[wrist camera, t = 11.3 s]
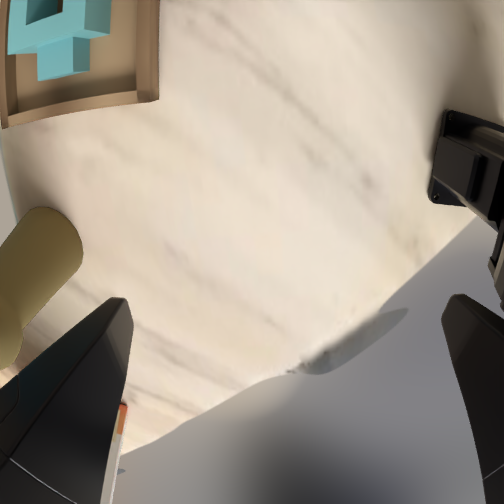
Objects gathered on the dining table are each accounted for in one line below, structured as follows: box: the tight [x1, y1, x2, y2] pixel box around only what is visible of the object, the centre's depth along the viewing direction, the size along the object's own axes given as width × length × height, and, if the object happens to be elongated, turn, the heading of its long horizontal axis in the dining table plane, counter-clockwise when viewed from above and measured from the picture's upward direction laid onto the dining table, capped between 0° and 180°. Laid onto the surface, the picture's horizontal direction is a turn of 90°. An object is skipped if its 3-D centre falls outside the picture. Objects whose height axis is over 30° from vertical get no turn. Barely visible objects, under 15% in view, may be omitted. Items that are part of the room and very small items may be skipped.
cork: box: [0, 207, 83, 370], centre depth 15 cm, size 6×6×11 cm
